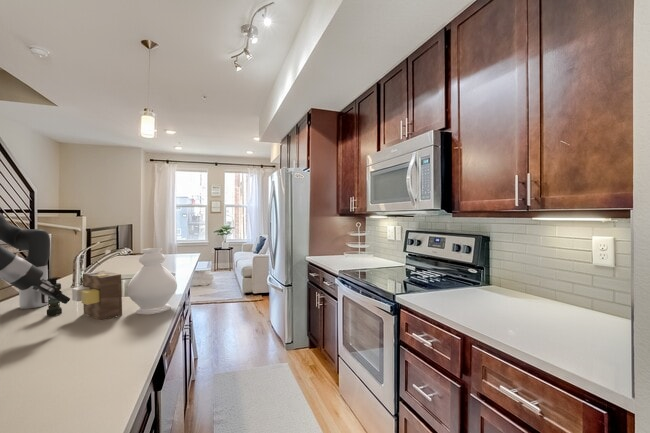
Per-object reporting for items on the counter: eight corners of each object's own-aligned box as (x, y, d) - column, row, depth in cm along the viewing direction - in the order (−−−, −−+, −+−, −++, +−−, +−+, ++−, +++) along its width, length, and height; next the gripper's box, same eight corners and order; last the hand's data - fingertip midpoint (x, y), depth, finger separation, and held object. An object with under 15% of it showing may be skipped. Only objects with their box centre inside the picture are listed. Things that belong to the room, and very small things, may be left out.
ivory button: (72, 300, 119) (72, 288, 119) (90, 296, 124) (90, 285, 124) (77, 301, 117) (77, 290, 116) (95, 297, 122) (95, 286, 122)
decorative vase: (177, 312, 124) (176, 249, 123) (125, 319, 116) (123, 253, 116) (177, 300, 140) (175, 245, 139) (130, 306, 132) (129, 248, 132)
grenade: (48, 318, 119) (47, 279, 118) (36, 317, 120) (34, 278, 119) (66, 312, 125) (64, 275, 125) (53, 311, 126) (52, 275, 126)
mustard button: (81, 303, 115) (81, 291, 115) (100, 299, 120) (99, 287, 120) (87, 304, 112) (86, 292, 112) (105, 300, 118) (105, 289, 117)
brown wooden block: (83, 314, 123) (82, 273, 123) (103, 309, 129) (102, 270, 129) (101, 320, 115) (100, 277, 115) (122, 315, 121) (121, 273, 121)
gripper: (1, 280, 100) (50, 308, 111) (14, 285, 93) (66, 314, 104) (23, 261, 104) (68, 289, 115) (37, 264, 97) (84, 294, 108)
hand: (67, 301), depth 109 cm, fingers closed
